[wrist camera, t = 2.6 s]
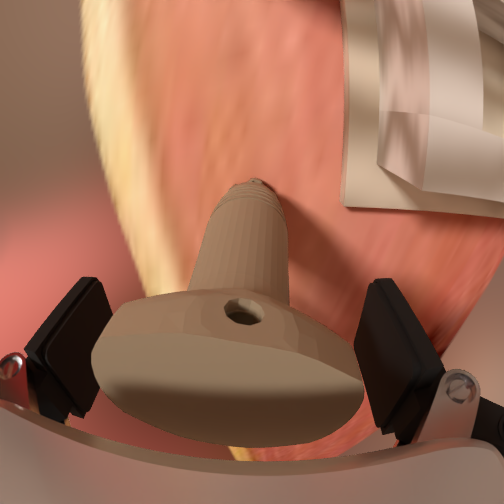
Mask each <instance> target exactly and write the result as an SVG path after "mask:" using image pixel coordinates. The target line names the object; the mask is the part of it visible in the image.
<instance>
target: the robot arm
mask: <svg viewBox="0 0 504 504" xmlns="http://www.w3.org/2000/svg"><path fill="white" fill-rule="evenodd" d="M112 316H113V313H112V311H111V308H110V305H109V302H108V299H107V297H106V294H105V291H104V288H103V285H102V283H101V282H100V281H99V280H98V279H97V278H96V277H82V278H81V279H79V281H78V282H77V283H76V284H75V285H74V286H73V287H72V289H71V290H70V291H69V292H68V293H67V295H66V296H65V297H64V298H63V299H62V300H61V302H60V303H59V304H58V305H57V306H56V308H55V309H54V310H53V311H52V313H51V314H50V315H49V316H48V318H47V319H46V320H45V321H44V323H43V324H42V325H41V326H40V328H39V329H38V330H37V332H36V333H35V334H34V336H33V337H32V338H31V340H30V341H29V342H28V344H27V345H26V346H25V348H24V350H25V352H26V353H27V355H28V357H27V358H26V359H25V357H24V356H23V354H21V353H19V352H13V353H10V354H8V355H6V356H4V357H3V358H2V359H1V360H0V504H504V407H502V406H500V405H498V404H496V403H493V402H491V401H489V400H487V399H485V398H483V397H481V396H480V386H479V383H478V382H477V380H476V379H475V377H474V376H473V375H471V374H470V373H469V372H466V371H465V370H461V369H453V370H450V371H447V372H446V371H445V368H444V367H443V366H444V365H443V363H442V361H441V360H440V358H439V356H438V354H437V352H436V350H435V348H434V347H433V345H432V343H431V341H430V339H429V338H428V336H427V334H426V332H425V331H424V329H423V327H422V326H421V324H420V322H419V321H418V319H417V317H416V316H415V314H414V312H413V311H412V309H411V307H410V306H409V304H408V302H407V301H406V299H405V298H404V296H403V295H402V293H401V291H400V290H399V288H398V287H397V285H396V284H395V282H394V281H393V280H392V278H380V279H375V280H374V282H373V283H370V284H369V286H368V290H367V294H366V299H365V303H364V307H363V311H362V314H361V318H360V322H359V326H358V329H357V333H356V336H355V340H354V351H355V354H356V357H357V361H358V364H359V367H360V371H361V374H362V377H363V381H364V384H365V388H366V391H367V395H368V399H369V402H370V406H371V410H372V414H373V417H374V421H375V425H376V427H378V428H380V427H381V431H382V435H385V434H389V433H395V436H396V439H397V441H396V443H395V444H394V446H393V448H389V449H384V450H379V451H374V452H368V453H362V454H357V455H349V456H341V457H333V458H324V459H314V460H300V461H273V462H259V461H231V460H217V459H206V458H197V457H190V456H182V455H176V454H170V453H164V452H158V451H154V450H149V449H144V448H140V447H135V446H131V445H127V444H123V443H119V442H116V441H112V440H108V439H105V438H101V437H98V436H95V435H92V434H89V433H86V432H83V431H80V430H77V429H75V428H72V427H71V425H70V421H69V418H68V414H69V412H70V413H71V414H72V415H74V416H77V417H80V418H83V419H84V416H85V414H86V412H88V411H89V410H90V409H91V407H92V404H93V402H94V400H95V398H96V396H97V393H98V391H99V389H100V386H99V384H98V382H97V380H96V378H95V375H94V372H93V368H92V364H91V353H92V350H93V348H94V346H95V344H96V342H97V340H98V339H99V337H100V335H101V334H102V332H103V330H104V328H105V327H106V325H107V324H108V322H109V321H110V319H111V318H112Z"/></svg>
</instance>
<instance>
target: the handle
mask: <svg viewBox="0 0 504 504" xmlns="http://www.w3.org/2000/svg"><path fill="white" fill-rule="evenodd" d="M91 364H92V368H93V372H94V375H95V378H96V380H97V382H98V384H99V386H100V387H101V389H102V390H103V392H104V393H105V395H106V396H107V397H108V398H109V399H110V400H111V401H112V402H113V403H114V404H115V405H116V406H117V407H118V408H120V409H121V410H122V411H123V412H125V413H127V414H129V415H131V416H133V417H135V418H137V419H139V420H141V421H143V422H145V423H148V424H150V425H152V426H154V427H157V428H159V429H161V430H163V431H166V432H169V433H172V434H174V435H177V436H180V437H184V438H188V439H192V440H196V441H201V442H207V443H213V444H219V445H226V446H234V447H245V448H265V447H278V446H288V445H297V444H304V443H310V442H313V441H316V440H318V439H321V438H323V437H325V436H327V435H330V434H332V433H333V432H335V431H336V430H338V429H339V428H341V427H342V426H343V425H344V424H346V423H347V422H348V421H349V420H350V419H351V418H352V417H353V416H354V414H355V413H356V412H357V411H358V409H359V408H360V406H361V404H362V402H363V399H364V386H363V381H362V377H361V374H360V370H359V366H358V363H357V360H356V356H355V353H354V351H353V348H352V346H351V345H350V344H349V343H348V342H347V341H345V340H344V339H343V338H341V337H340V336H338V335H337V334H336V333H334V332H333V331H331V330H330V329H328V328H327V327H325V326H324V325H322V324H321V323H319V322H317V321H316V320H314V319H312V318H311V317H309V316H307V315H305V314H303V313H302V312H300V311H298V310H296V309H294V308H292V307H290V305H289V275H288V230H287V224H286V219H285V215H284V212H283V209H282V207H281V204H280V202H279V201H278V198H277V196H276V194H275V193H274V192H273V191H271V190H270V189H269V188H268V187H266V186H264V184H263V183H262V180H260V179H258V178H251V179H250V180H249V181H248V182H245V183H241V184H234V185H233V186H232V187H231V188H230V189H229V191H228V192H227V193H226V194H225V195H224V196H223V197H222V199H221V200H220V201H219V203H218V204H217V206H216V207H215V209H214V211H213V213H212V215H211V217H210V219H209V222H208V224H207V227H206V231H205V234H204V238H203V241H202V244H201V248H200V251H199V255H198V258H197V261H196V265H195V268H194V271H193V274H192V277H191V280H190V283H189V287H188V290H187V291H181V292H174V293H168V294H162V295H156V296H152V297H147V298H143V299H139V300H135V301H131V302H127V303H124V304H123V305H122V306H121V307H120V308H119V309H118V310H117V311H116V313H115V314H114V315H113V316H112V318H111V319H110V321H109V322H108V324H107V325H106V327H105V328H104V330H103V332H102V334H101V335H100V337H99V339H98V340H97V342H96V344H95V346H94V348H93V350H92V353H91Z"/></svg>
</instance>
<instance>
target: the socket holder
mask: <svg viewBox="0 0 504 504" xmlns="http://www.w3.org/2000/svg"><path fill="white" fill-rule="evenodd" d="M340 9H341V22H342V36H343V58H344V134H343V157H342V174H341V188H340V200H339V201H340V202H341V203H342V205H343V206H344V207H369V208H389V209H406V210H421V211H434V212H446V213H457V214H467V215H477V216H486V217H495V218H503V219H504V0H340Z"/></svg>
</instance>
